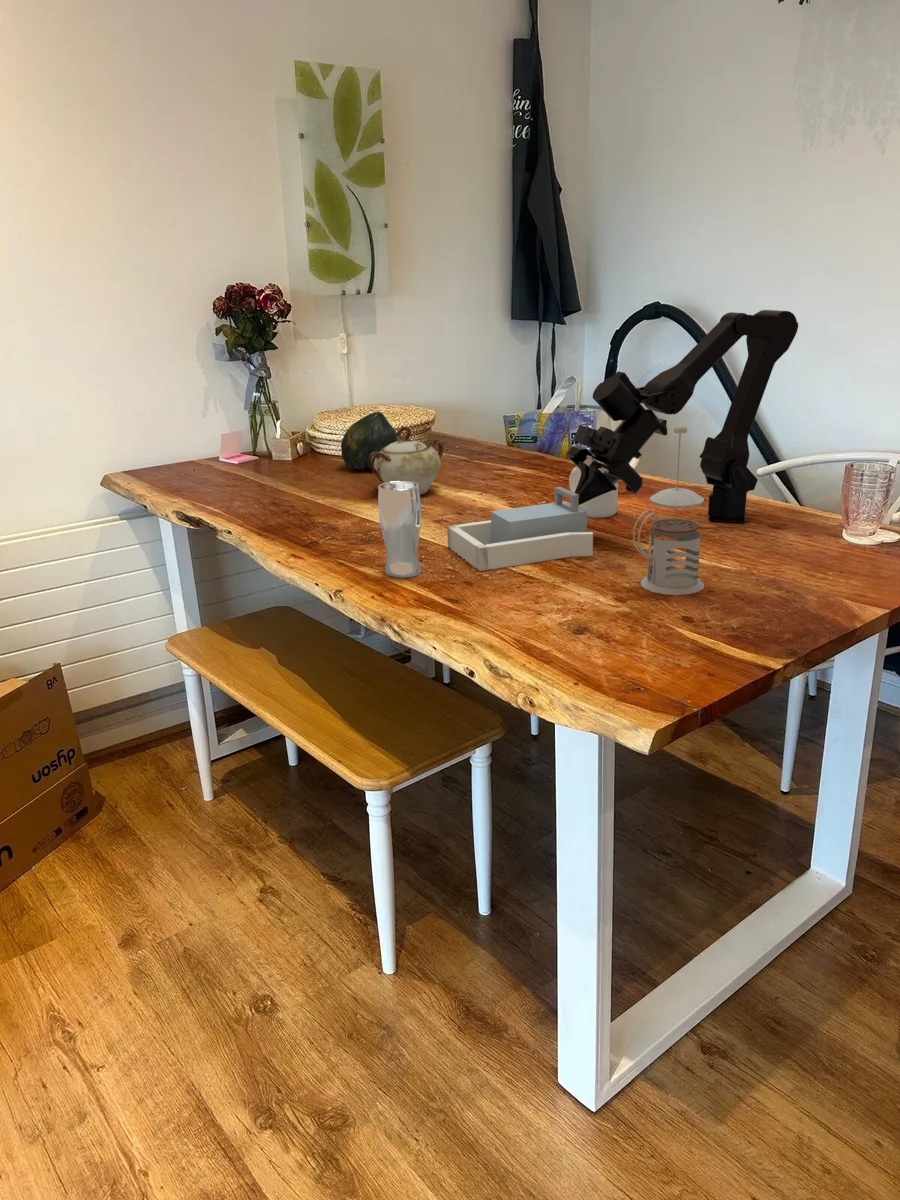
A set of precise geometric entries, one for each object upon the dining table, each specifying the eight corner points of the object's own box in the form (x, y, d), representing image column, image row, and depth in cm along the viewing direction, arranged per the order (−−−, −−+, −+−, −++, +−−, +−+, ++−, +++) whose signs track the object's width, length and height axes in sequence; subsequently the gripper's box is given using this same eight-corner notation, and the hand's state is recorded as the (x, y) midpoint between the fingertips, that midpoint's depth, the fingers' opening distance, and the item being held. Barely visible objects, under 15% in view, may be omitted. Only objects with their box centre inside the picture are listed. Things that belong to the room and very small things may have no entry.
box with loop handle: (565, 537, 168) (565, 485, 165) (586, 549, 161) (587, 494, 158) (491, 548, 163) (490, 494, 160) (510, 561, 156) (509, 505, 153)
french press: (717, 589, 139) (728, 426, 130) (648, 599, 136) (656, 433, 127) (683, 570, 147) (692, 417, 139) (619, 579, 145) (624, 423, 136)
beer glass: (375, 577, 150) (369, 489, 145) (393, 564, 156) (387, 479, 151) (414, 581, 147) (409, 491, 142) (430, 567, 154) (426, 481, 148)
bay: (548, 530, 172) (548, 509, 171) (595, 555, 156) (595, 533, 155) (445, 545, 165) (444, 524, 164) (483, 573, 150) (482, 550, 148)
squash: (324, 446, 231) (345, 405, 221) (370, 440, 241) (393, 400, 230) (350, 489, 227) (373, 449, 216) (396, 480, 237) (420, 442, 226)
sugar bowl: (388, 506, 194) (384, 436, 189) (354, 493, 205) (349, 427, 200) (462, 491, 204) (460, 424, 199) (426, 480, 216) (423, 417, 210)
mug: (555, 509, 187) (555, 459, 183) (585, 502, 191) (586, 454, 187) (595, 520, 177) (596, 469, 174) (625, 513, 182) (627, 462, 178)
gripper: (576, 401, 166) (522, 466, 166) (630, 415, 150) (570, 487, 150) (612, 440, 171) (559, 503, 172) (668, 458, 155) (609, 527, 155)
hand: (572, 504), depth 162 cm, fingers closed
